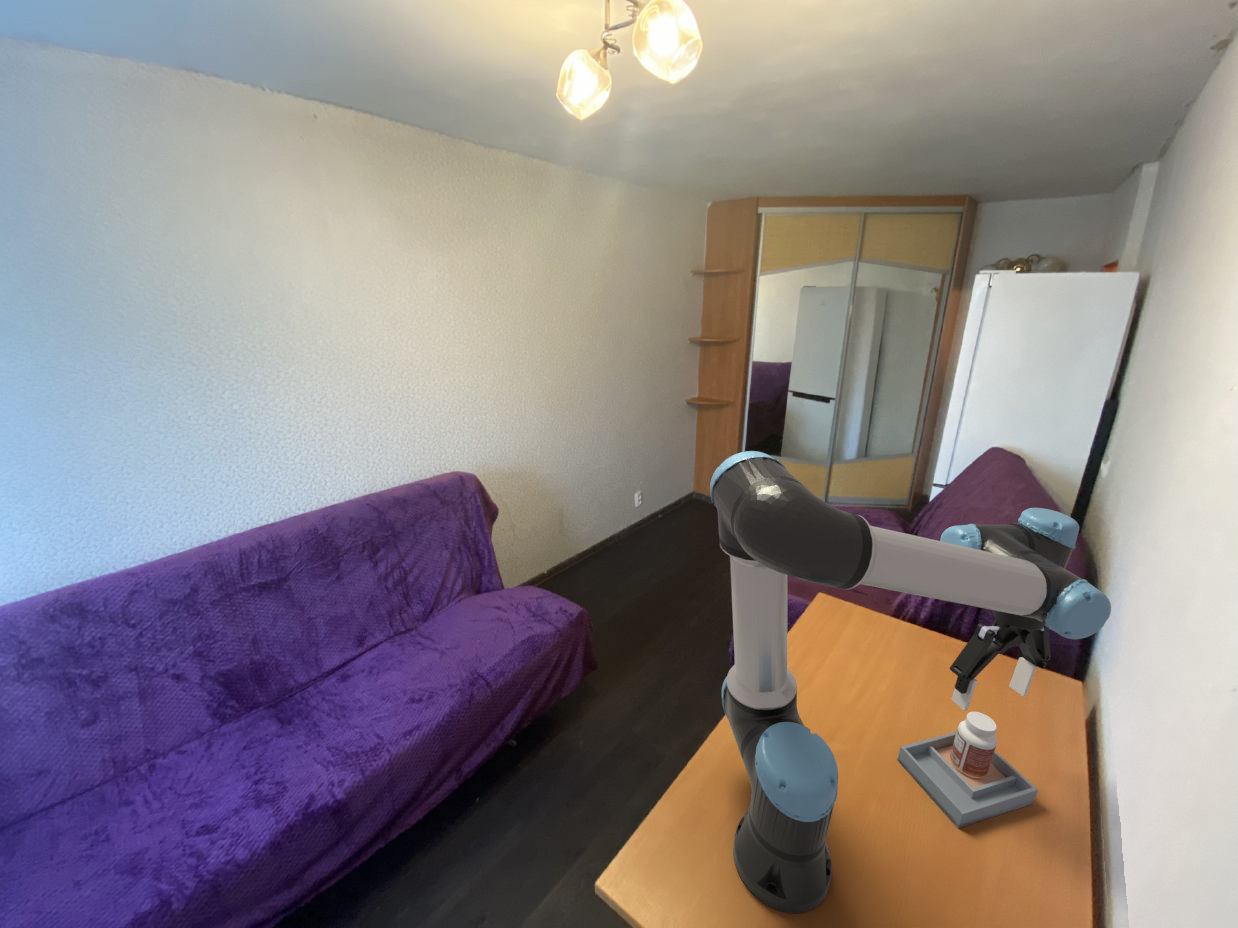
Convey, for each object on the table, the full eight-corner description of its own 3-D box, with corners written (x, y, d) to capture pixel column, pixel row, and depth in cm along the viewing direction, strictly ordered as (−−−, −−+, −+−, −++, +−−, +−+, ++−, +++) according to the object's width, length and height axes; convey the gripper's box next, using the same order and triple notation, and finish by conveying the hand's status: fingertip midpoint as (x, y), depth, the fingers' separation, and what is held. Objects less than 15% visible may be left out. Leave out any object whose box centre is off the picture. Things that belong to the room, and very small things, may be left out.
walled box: (957, 828, 91) (962, 814, 89) (897, 759, 103) (900, 746, 102) (1032, 803, 95) (1038, 789, 94) (965, 740, 108) (969, 727, 106)
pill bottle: (992, 769, 100) (1008, 725, 96) (977, 785, 97) (992, 740, 93) (958, 746, 105) (972, 703, 101) (942, 761, 102) (955, 717, 98)
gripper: (985, 622, 81) (951, 727, 89) (1101, 600, 88) (1061, 700, 95) (945, 595, 88) (916, 695, 95) (1055, 577, 95) (1021, 671, 102)
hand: (988, 697), depth 95 cm, fingers open, 13 cm apart
